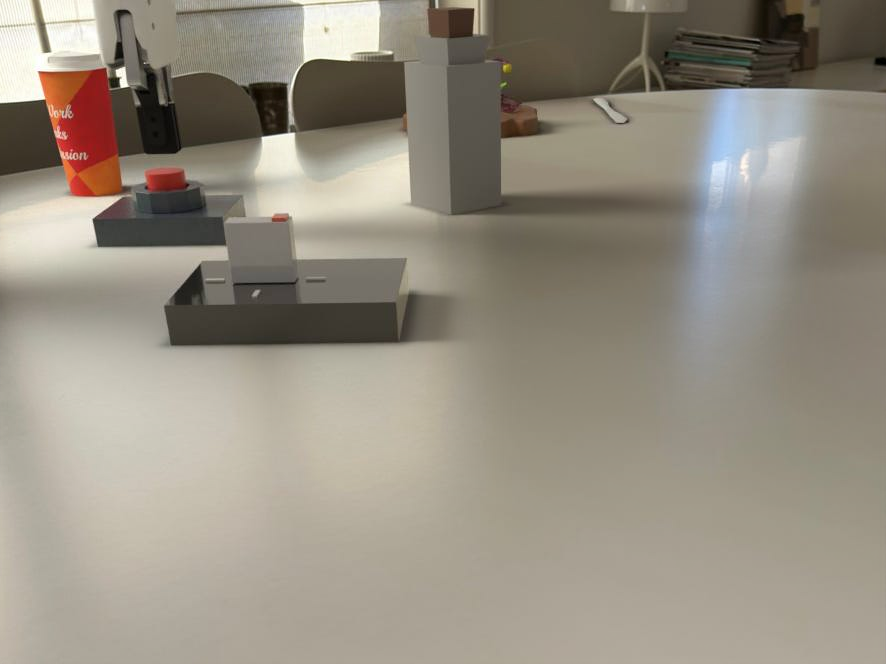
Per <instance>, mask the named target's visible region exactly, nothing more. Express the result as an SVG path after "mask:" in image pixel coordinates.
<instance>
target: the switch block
mask: <svg viewBox="0 0 886 664" xmlns="http://www.w3.org/2000/svg"><path fill="white" fill-rule="evenodd" d="M186 184H187V187H186V188H182V189H177V190H167V191H154V190H148V187H147V181H146V182H141V183H138V184H135V185H134V186H132V187H131V188H130V192H131V196H127V195H126V196H121V197H120V198H119V199H118V200H116V201H115V202H113V203H112V204H111V205H109V206H108V207H107V208H105V209H104V210H103V211H101V212H100V213H99V214H97V215H95V216H94V217H93V218H92V219H91V220H92V225H93V229H94V236H95V240H96V244H97V247H98V248H113V247H114V248H115V247H119V248H120V247H177V246H179V247H182V246H189V247H190V246H227V244H226V237H225V230H224V222H225V221H226V220H227V219H228V218H229V217H247V216H246V208H245V200H244V195H243V194H209V195H208V194H206V192H205V185H204V183H202V182H200V181H198V180H193V179H192V180H191V179H186Z"/></svg>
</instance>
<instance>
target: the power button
mask: <svg viewBox="0 0 886 664" xmlns="http://www.w3.org/2000/svg"><path fill="white" fill-rule="evenodd" d="M144 176H145V180H146V182H147V187H148V190H154V191H167V190H177V189H182V188H186V187H187V184H186V180H187V179H186V173H185V168H182V167H177V166H165V167H156V168H149V169H147V170H146V171H144Z"/></svg>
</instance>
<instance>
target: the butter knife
mask: <svg viewBox="0 0 886 664" xmlns="http://www.w3.org/2000/svg"><path fill="white" fill-rule="evenodd" d="M593 101H594V102H595V104H597V106H599V107H601V108H602V109H603V111H605V112H606V113H607V114H608V116H609V117H610V118H611V119H612V120H613V121H614V122H615V123H616V124H625V123H626V122H627V120H628V118H627V117H626V116H624V115H623V114H621V113H619V112H617V111H615V110H614V109H613V108H612V107H610V105H609V102H608V100H607V99H605V98H603V97H595V98H593Z"/></svg>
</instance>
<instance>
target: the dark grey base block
mask: <svg viewBox="0 0 886 664" xmlns="http://www.w3.org/2000/svg"><path fill="white" fill-rule="evenodd" d="M297 267H298V277H297V279H296V281H295V282H293V283H232V279H231V272H230V265H229V260H202V261H201V262H200V263H199V264H198V266H197V267H196V268H195V269H194V270H192V271H193V272H191V274H190V275H189V276H188V277H187V278H186V280H184V282H183V283H182V284H181V285H180V286H179V287H178V288H177V290H176V291H175V292H174V293H173V294H172V295H171V297H170V298H169V299H168V300H167V302H166V303H164V305H163V309H164V313H165V314H164V315H165V321H166V326H167V332H168V337H169V344H170V346H227V345H229V346H231V345H233V346H235V345H239V346H241V345H302V344H305V345H307V344H309V345H310V344H371V343H373V344H376V343H379V344H380V343H381V344H383V343H399V342H400V338H401V334H402V333H401V332H402V328H403V322H404V318H405V314H406V309H407V304H408V300H409V294H410V291H409V274H408V273H409V272H408V258H407V257H377V258H376V257H375V258H373V257H372V258H371V257H369V258H366V257H365V258H311V259H309V258H305V259H303V258H302V259H301V258H300V259H297Z"/></svg>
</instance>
